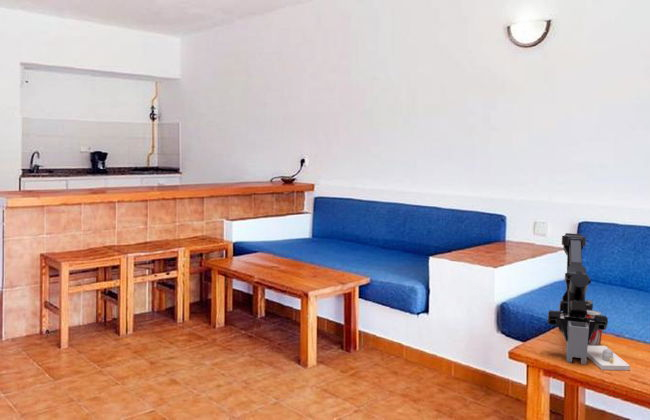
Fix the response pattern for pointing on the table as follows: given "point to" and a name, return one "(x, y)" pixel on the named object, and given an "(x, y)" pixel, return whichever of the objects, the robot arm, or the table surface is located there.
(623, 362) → the post board
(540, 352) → the table surface
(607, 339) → the table surface
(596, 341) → the soda can
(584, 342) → the sleeve
